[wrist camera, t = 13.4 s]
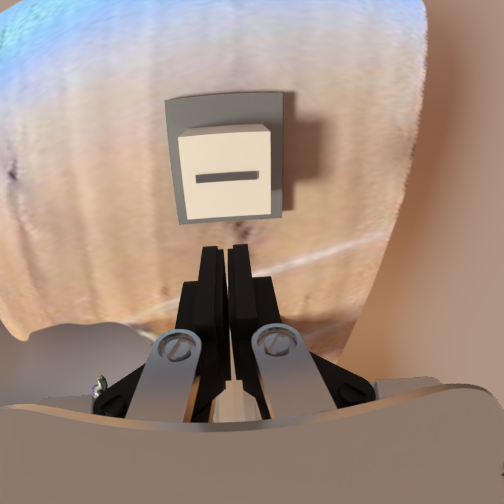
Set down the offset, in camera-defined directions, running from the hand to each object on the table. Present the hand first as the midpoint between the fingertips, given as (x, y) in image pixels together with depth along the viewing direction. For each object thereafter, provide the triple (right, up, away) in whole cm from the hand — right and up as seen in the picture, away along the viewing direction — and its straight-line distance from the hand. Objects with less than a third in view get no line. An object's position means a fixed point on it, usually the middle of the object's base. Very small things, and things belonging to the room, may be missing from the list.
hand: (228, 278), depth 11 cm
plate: (-1, +10, +14) cm, 18 cm away
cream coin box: (-1, +9, +13) cm, 16 cm away
